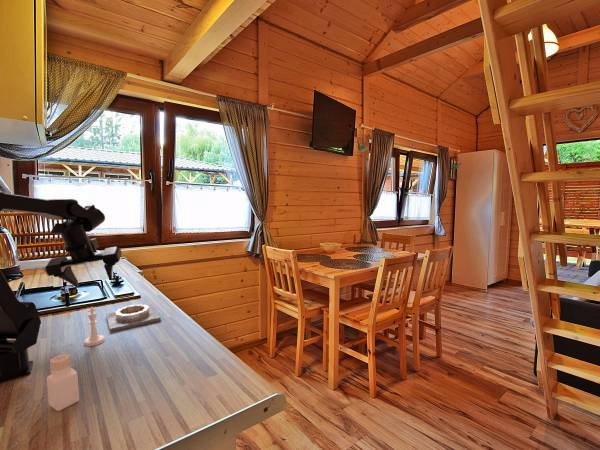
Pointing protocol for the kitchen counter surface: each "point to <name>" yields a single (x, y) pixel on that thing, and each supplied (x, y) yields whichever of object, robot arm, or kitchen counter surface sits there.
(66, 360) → the salt shaker
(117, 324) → the hub plate
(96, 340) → the chess piece
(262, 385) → the kitchen counter surface
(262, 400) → the kitchen counter surface
